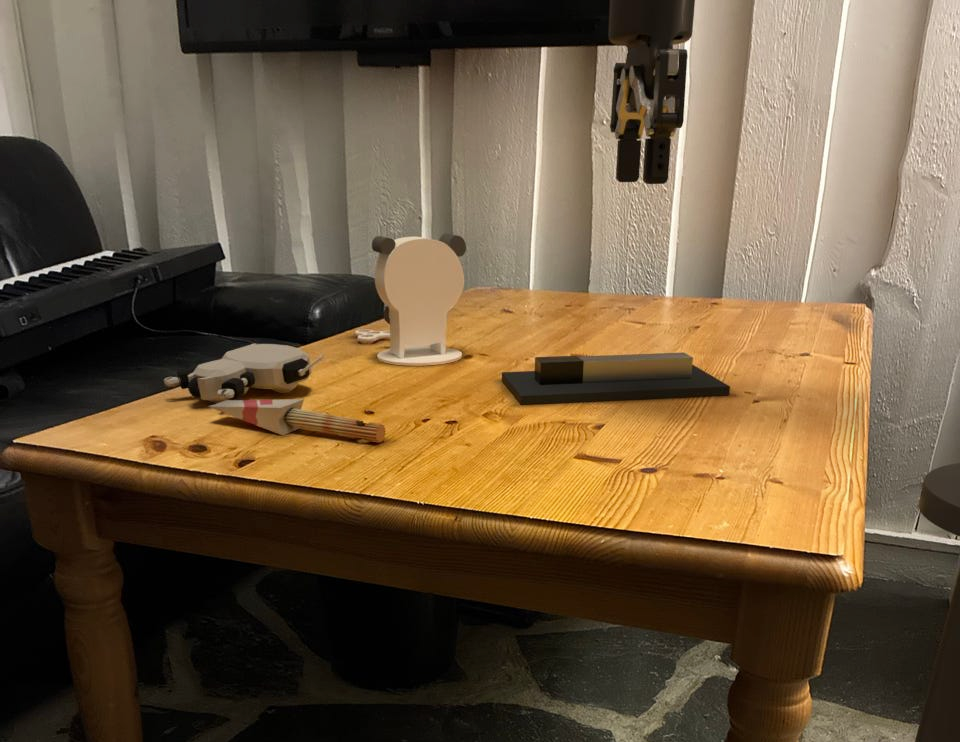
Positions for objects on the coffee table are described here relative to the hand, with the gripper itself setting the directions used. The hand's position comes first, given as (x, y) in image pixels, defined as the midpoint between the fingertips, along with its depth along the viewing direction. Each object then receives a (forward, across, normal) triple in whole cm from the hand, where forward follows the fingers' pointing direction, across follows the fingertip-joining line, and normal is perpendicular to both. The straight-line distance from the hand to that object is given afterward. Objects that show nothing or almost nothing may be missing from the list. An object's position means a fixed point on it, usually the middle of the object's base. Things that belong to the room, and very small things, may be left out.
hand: (640, 183), depth 90 cm
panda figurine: (+22, -32, -18) cm, 43 cm away
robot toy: (+22, -15, -40) cm, 48 cm away
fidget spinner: (+21, -47, -23) cm, 56 cm away
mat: (+22, -10, +2) cm, 24 cm away
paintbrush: (+22, +2, -35) cm, 41 cm away
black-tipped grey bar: (+21, -10, +2) cm, 23 cm away
